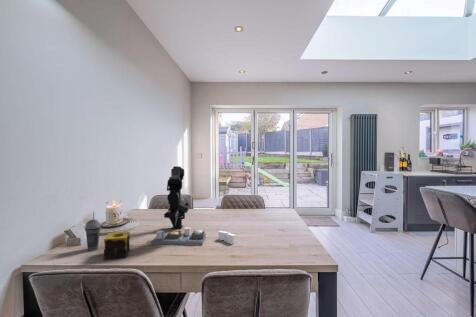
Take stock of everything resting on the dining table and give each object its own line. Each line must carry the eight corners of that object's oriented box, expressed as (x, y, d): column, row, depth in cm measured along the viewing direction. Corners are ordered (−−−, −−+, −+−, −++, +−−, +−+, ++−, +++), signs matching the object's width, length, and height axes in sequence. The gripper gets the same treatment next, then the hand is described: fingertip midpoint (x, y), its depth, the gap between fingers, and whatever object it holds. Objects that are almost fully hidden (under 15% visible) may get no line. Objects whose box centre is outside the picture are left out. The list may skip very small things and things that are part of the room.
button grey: (194, 232, 145) (194, 229, 145) (203, 233, 145) (203, 229, 145) (192, 235, 140) (192, 232, 140) (201, 235, 140) (201, 232, 140)
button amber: (171, 234, 145) (171, 231, 145) (179, 234, 145) (179, 231, 145) (168, 237, 140) (168, 234, 140) (177, 237, 140) (177, 234, 140)
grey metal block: (158, 237, 141) (158, 230, 140) (163, 237, 141) (163, 230, 140) (156, 239, 138) (156, 232, 137) (161, 239, 138) (161, 232, 137)
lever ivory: (185, 233, 148) (185, 227, 148) (190, 233, 148) (190, 227, 148) (184, 235, 145) (184, 228, 145) (189, 235, 145) (189, 228, 145)
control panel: (160, 236, 150) (160, 228, 150) (205, 237, 149) (205, 229, 149) (152, 244, 137) (152, 236, 137) (202, 245, 136) (202, 237, 136)
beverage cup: (97, 245, 133) (97, 209, 133) (103, 249, 129) (103, 211, 128) (82, 249, 128) (82, 211, 127) (88, 253, 123) (87, 213, 123)
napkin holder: (214, 239, 147) (214, 229, 147) (232, 237, 151) (232, 228, 150) (220, 248, 133) (220, 238, 133) (240, 246, 136) (240, 236, 136)
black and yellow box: (103, 260, 116) (103, 239, 116) (108, 251, 125) (108, 232, 125) (126, 258, 118) (126, 237, 118) (129, 250, 128) (129, 231, 128)
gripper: (184, 203, 133) (184, 231, 133) (191, 196, 151) (191, 221, 152) (163, 202, 133) (163, 231, 133) (173, 196, 152) (173, 221, 152)
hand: (174, 226), depth 143 cm, fingers closed
